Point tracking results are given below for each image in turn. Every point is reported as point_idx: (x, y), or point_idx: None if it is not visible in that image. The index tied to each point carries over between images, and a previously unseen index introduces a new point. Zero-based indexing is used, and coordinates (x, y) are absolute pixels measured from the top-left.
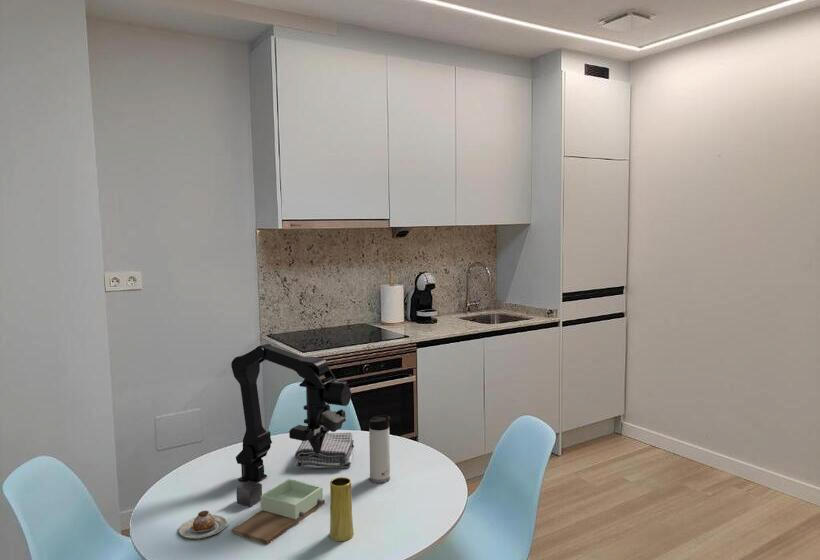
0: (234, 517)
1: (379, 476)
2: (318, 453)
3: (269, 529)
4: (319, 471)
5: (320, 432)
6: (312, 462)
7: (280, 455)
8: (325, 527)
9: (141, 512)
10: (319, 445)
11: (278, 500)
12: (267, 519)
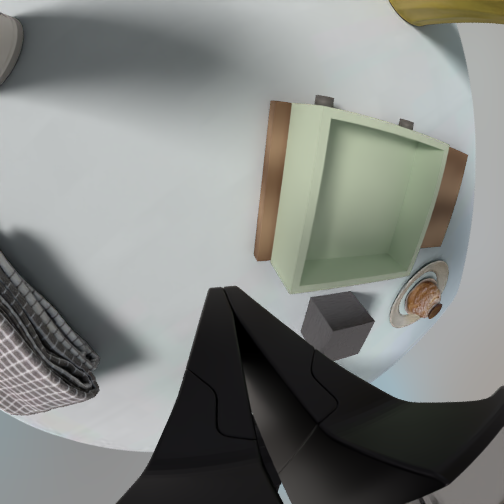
0: (389, 283)
1: (9, 22)
2: (229, 286)
3: (443, 175)
4: (60, 291)
5: (405, 501)
6: (61, 334)
7: (86, 404)
8: (396, 43)
9: (373, 380)
10: (261, 338)
11: (432, 211)
12: None
